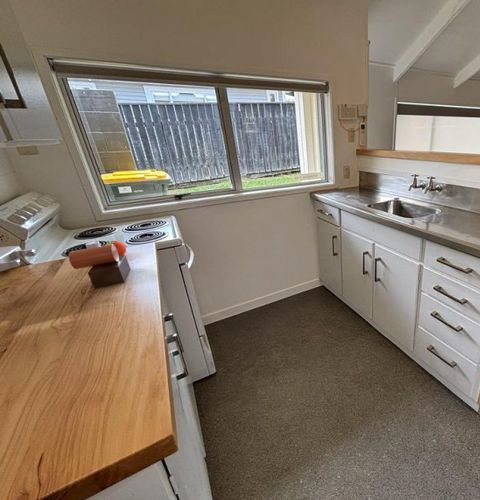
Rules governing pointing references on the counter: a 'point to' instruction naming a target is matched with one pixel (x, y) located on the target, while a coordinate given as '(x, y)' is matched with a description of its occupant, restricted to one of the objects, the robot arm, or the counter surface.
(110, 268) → the walnut block
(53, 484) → the counter surface
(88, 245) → the supplement bottle
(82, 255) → the cup
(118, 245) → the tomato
